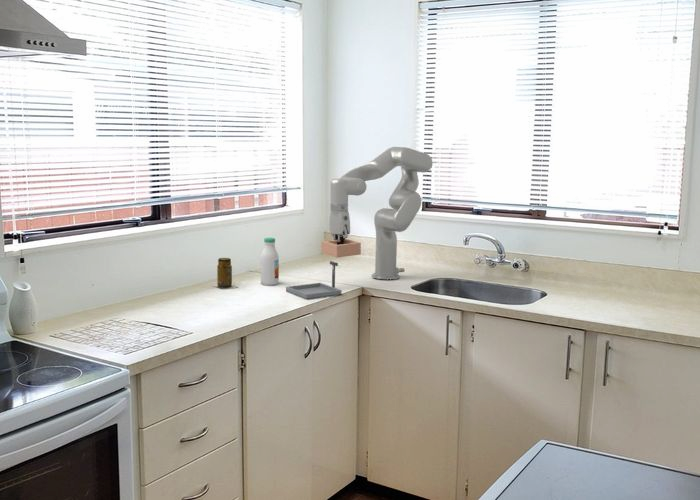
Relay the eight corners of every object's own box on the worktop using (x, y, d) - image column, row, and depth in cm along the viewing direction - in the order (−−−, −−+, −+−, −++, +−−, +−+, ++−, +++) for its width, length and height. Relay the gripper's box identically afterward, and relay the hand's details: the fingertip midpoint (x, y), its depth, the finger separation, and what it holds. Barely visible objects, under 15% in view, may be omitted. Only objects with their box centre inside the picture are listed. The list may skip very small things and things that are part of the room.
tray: (320, 287, 325) (320, 282, 325) (341, 294, 311) (341, 290, 311) (285, 291, 316) (285, 286, 315) (306, 299, 302) (306, 294, 302)
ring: (345, 250, 331) (344, 238, 331) (360, 254, 322) (360, 242, 321) (321, 253, 325) (321, 241, 324) (336, 257, 315) (336, 245, 314)
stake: (331, 286, 326) (331, 261, 324) (337, 289, 322) (338, 263, 320) (329, 287, 325) (329, 261, 324) (335, 289, 321) (335, 263, 319)
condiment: (227, 284, 328) (227, 256, 326) (238, 287, 322) (237, 259, 320) (212, 286, 324) (212, 258, 322) (222, 289, 317) (222, 261, 315)
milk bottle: (270, 286, 325) (270, 240, 322) (257, 283, 329) (256, 238, 326) (282, 283, 331) (282, 238, 328) (269, 281, 336) (269, 236, 332)
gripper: (356, 209, 321) (356, 252, 325) (336, 205, 334) (336, 246, 337) (341, 210, 317) (341, 253, 320) (322, 206, 330) (322, 248, 333)
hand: (339, 250), depth 329 cm, fingers closed on ring, 1 cm apart
